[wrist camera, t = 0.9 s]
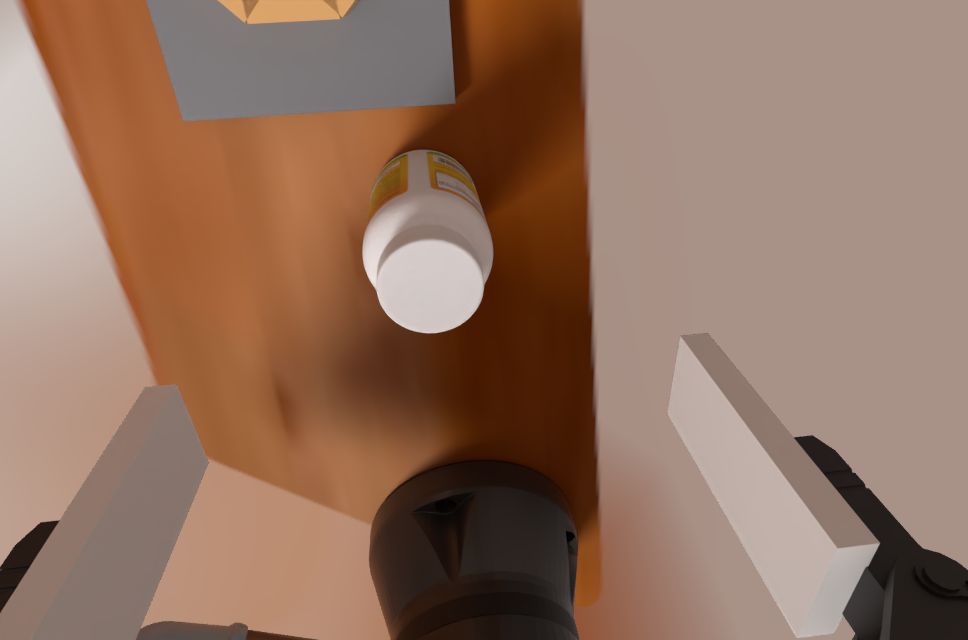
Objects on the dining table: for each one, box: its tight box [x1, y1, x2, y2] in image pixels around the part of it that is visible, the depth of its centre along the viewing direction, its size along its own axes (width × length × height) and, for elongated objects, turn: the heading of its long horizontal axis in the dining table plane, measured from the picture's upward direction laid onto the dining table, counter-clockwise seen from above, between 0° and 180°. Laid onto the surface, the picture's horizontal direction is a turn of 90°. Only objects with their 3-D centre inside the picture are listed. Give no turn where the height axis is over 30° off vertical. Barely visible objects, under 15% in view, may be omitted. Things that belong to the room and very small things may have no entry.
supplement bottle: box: [363, 150, 493, 333], centre depth 25 cm, size 5×5×10 cm
